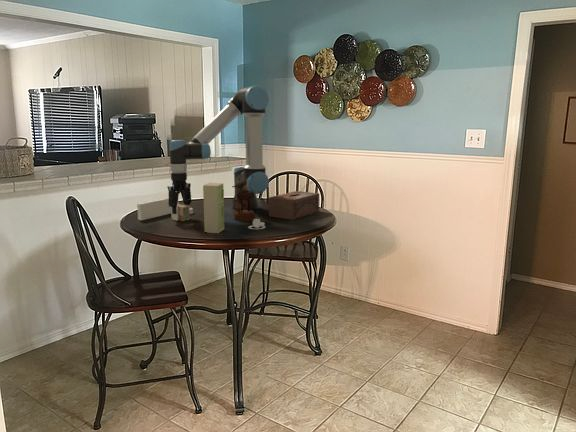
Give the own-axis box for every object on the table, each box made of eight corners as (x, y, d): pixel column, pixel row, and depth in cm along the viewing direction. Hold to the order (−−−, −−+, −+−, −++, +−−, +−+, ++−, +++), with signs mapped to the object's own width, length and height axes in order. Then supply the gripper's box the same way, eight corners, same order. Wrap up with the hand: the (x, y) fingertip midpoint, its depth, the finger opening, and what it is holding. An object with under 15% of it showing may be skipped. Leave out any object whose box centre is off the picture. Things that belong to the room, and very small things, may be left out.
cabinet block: (190, 219, 233) (189, 205, 231) (183, 221, 229) (182, 207, 227) (179, 217, 236) (178, 204, 235) (172, 219, 232) (171, 205, 231)
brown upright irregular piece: (245, 222, 225) (241, 181, 222) (227, 221, 231) (224, 182, 228) (263, 217, 238) (260, 178, 235) (246, 216, 244) (243, 178, 240)
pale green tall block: (220, 233, 205) (218, 185, 200) (204, 232, 206) (202, 185, 202) (226, 229, 212) (225, 183, 208) (210, 228, 214) (209, 182, 209)
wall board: (194, 213, 248) (194, 198, 246) (155, 222, 225) (154, 206, 223) (178, 210, 254) (177, 196, 253) (138, 220, 231) (137, 204, 229)
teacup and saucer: (261, 225, 222) (261, 216, 221) (270, 228, 216) (270, 219, 215) (245, 227, 218) (244, 218, 217) (253, 231, 211) (253, 222, 210)
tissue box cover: (292, 220, 233) (292, 200, 231) (268, 216, 241) (268, 197, 238) (318, 211, 254) (319, 193, 251) (296, 208, 261) (296, 190, 259)
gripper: (186, 169, 238) (188, 214, 242) (158, 173, 222) (161, 221, 226) (197, 170, 234) (199, 216, 239) (170, 174, 218) (172, 223, 223)
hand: (181, 218), depth 232 cm, fingers open, 6 cm apart
